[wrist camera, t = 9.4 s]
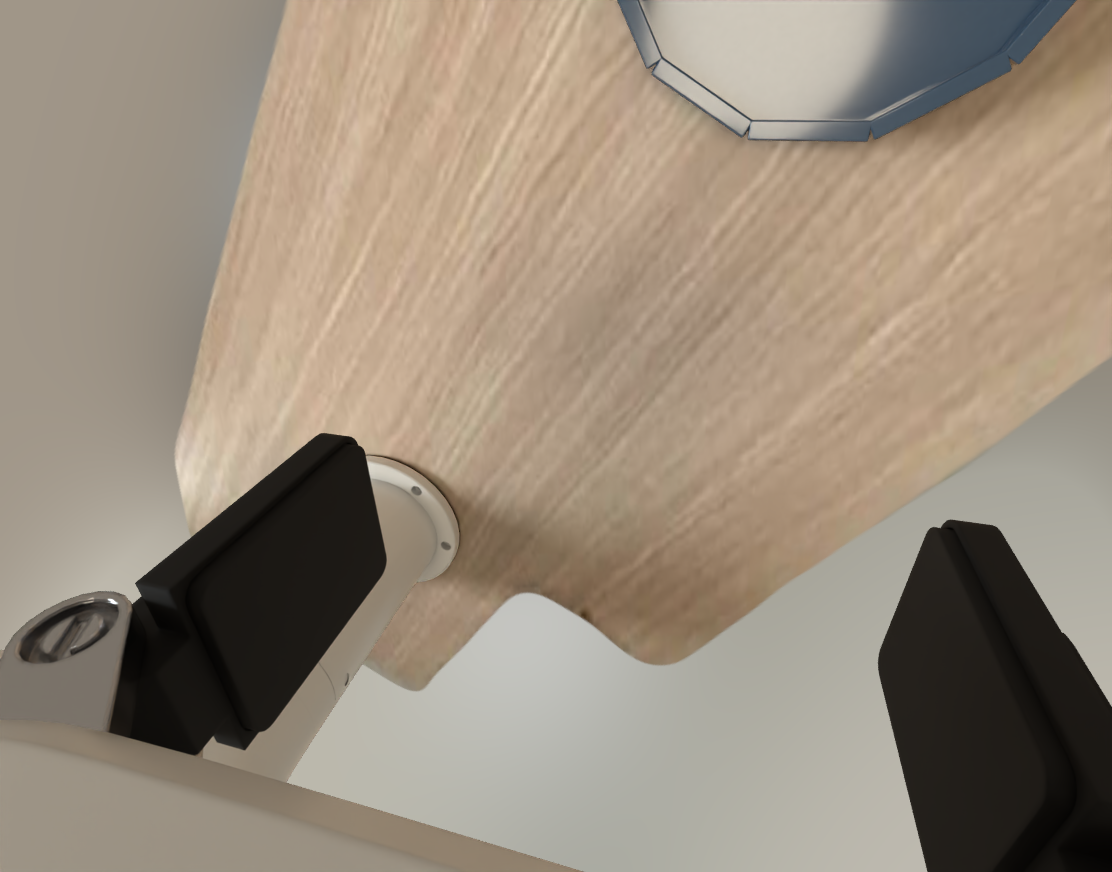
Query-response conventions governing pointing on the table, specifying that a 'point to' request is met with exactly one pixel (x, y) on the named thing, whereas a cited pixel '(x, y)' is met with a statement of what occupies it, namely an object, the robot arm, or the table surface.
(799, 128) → the blue rotary dial
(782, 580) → the table surface
